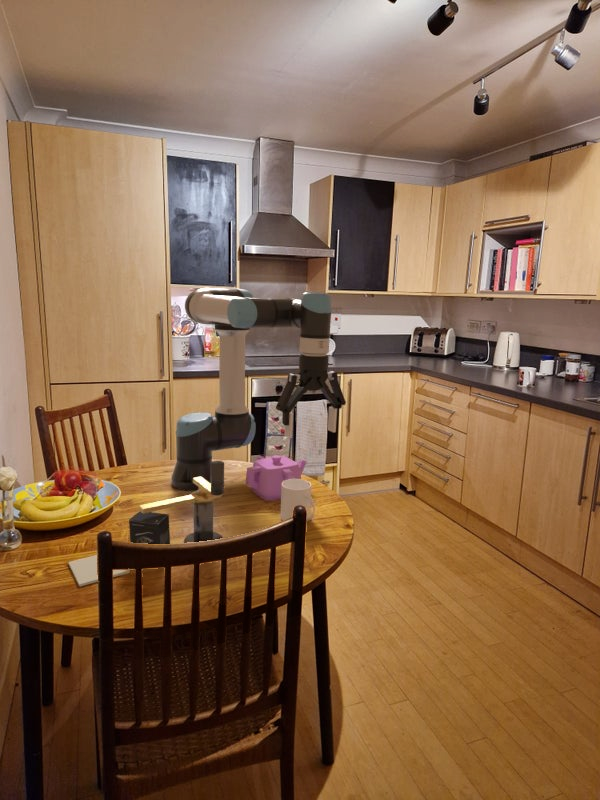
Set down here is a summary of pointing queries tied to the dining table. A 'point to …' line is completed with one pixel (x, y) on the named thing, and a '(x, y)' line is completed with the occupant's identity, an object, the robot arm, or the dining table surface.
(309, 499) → the mug
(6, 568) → the dining table surface
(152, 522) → the box
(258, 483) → the teakettle
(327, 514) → the dining table surface
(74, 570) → the pad
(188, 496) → the crank
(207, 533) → the post
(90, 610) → the dining table surface
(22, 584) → the dining table surface
